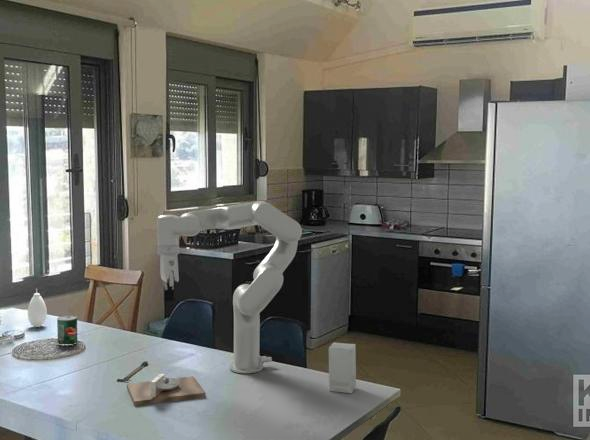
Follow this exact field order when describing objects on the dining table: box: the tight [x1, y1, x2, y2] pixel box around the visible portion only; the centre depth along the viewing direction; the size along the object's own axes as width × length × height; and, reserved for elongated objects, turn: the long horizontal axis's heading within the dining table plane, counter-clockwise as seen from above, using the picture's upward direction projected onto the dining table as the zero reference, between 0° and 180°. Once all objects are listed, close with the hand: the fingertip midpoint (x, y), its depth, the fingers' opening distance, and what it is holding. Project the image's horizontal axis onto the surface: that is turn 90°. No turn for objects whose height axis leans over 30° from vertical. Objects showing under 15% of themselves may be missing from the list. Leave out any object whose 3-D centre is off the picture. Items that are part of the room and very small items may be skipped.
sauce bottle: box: [27, 287, 48, 328], centre depth 307 cm, size 8×8×18 cm
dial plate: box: [126, 375, 206, 407], centre depth 229 cm, size 23×17×2 cm
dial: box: [150, 373, 179, 397], centre depth 226 cm, size 14×9×5 cm, turn 169°
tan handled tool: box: [116, 360, 149, 384], centre depth 248 cm, size 21×7×1 cm, turn 166°
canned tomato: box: [56, 314, 79, 344], centre depth 282 cm, size 8×8×11 cm
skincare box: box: [328, 342, 357, 394], centre depth 233 cm, size 8×7×16 cm
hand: (168, 300), depth 245 cm, fingers closed
